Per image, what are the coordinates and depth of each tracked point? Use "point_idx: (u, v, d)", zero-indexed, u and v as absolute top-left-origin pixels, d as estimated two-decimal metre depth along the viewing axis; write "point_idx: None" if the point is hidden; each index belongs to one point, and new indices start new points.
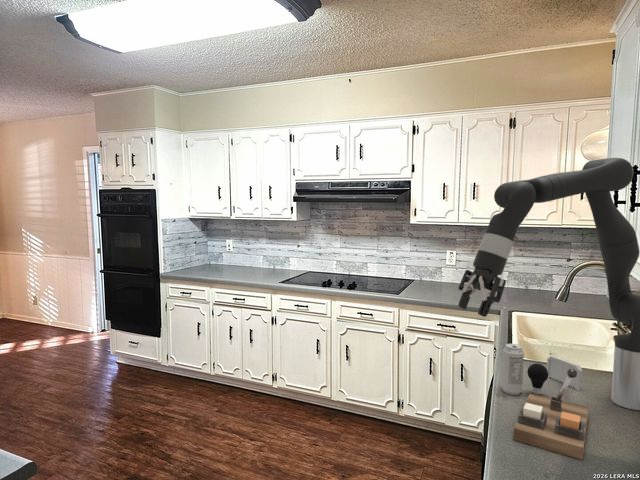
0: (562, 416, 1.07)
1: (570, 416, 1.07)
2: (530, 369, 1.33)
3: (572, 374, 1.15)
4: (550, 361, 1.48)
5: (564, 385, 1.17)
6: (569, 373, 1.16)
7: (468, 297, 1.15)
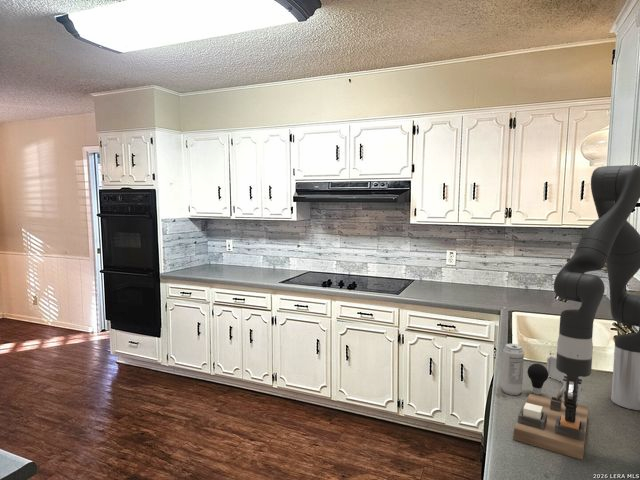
0: (562, 420, 1.07)
1: None
2: (530, 369, 1.33)
3: None
4: (550, 361, 1.48)
5: None
6: None
7: (573, 408, 1.06)
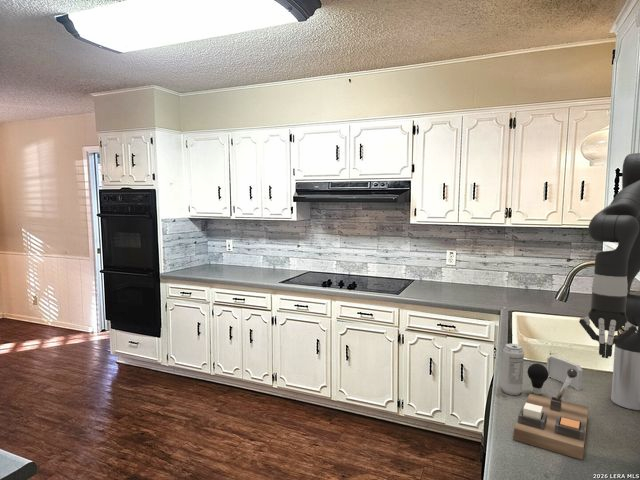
0: (562, 422, 1.07)
1: (570, 422, 1.07)
2: (530, 369, 1.33)
3: (572, 374, 1.15)
4: (550, 361, 1.48)
5: (564, 385, 1.17)
6: (569, 373, 1.16)
7: None
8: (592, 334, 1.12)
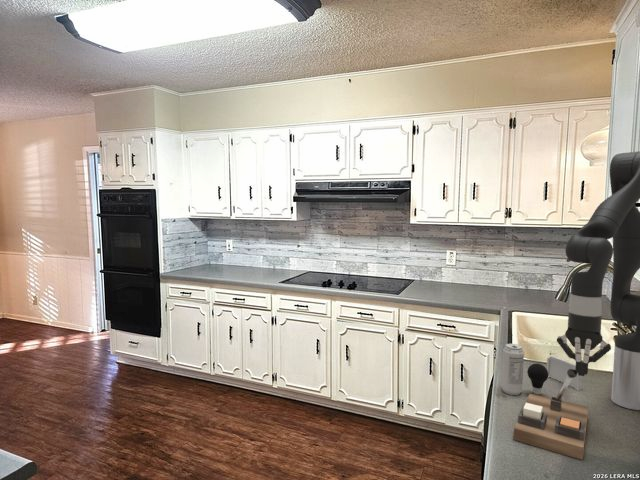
0: (562, 422, 1.07)
1: (570, 422, 1.07)
2: (530, 369, 1.33)
3: (572, 374, 1.15)
4: (550, 361, 1.48)
5: (564, 385, 1.17)
6: (569, 373, 1.16)
7: None
8: (569, 352, 1.15)
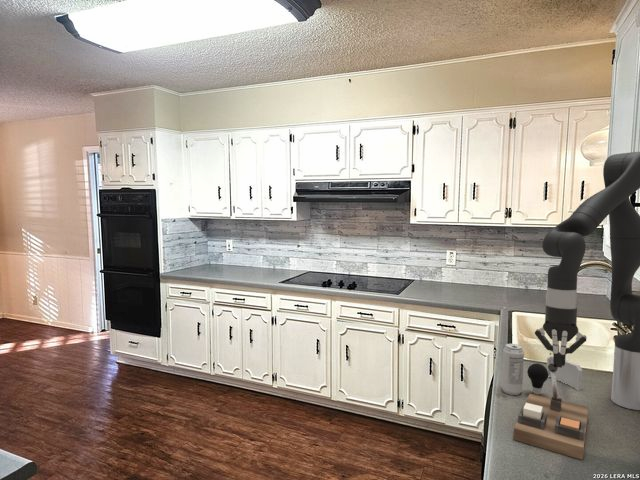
0: (562, 422, 1.07)
1: (570, 422, 1.07)
2: (530, 369, 1.33)
3: (552, 368, 1.18)
4: (550, 361, 1.48)
5: (552, 382, 1.19)
6: (550, 368, 1.18)
7: None
8: (546, 344, 1.18)
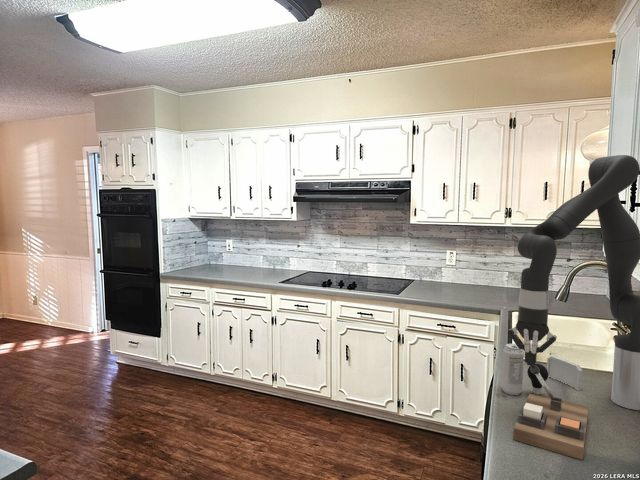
0: (562, 422, 1.07)
1: (570, 422, 1.07)
2: None
3: (534, 370, 1.20)
4: (550, 361, 1.48)
5: (542, 383, 1.20)
6: (532, 372, 1.21)
7: None
8: (518, 343, 1.22)
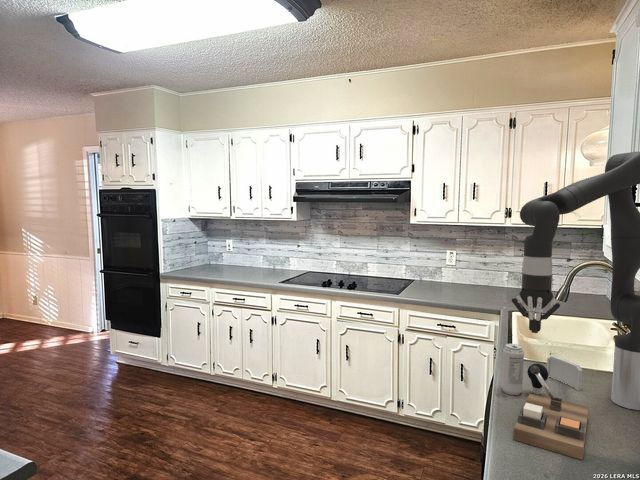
0: (562, 422, 1.07)
1: (570, 422, 1.07)
2: None
3: (534, 370, 1.20)
4: (550, 361, 1.48)
5: (542, 383, 1.20)
6: (532, 372, 1.21)
7: None
8: (523, 311, 1.22)
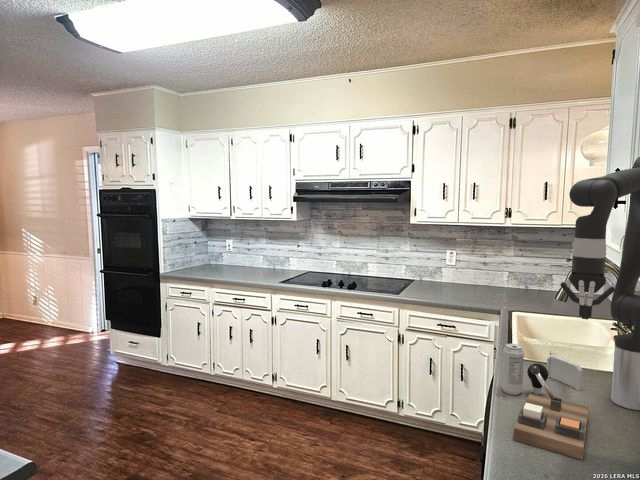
0: (562, 422, 1.07)
1: (570, 422, 1.07)
2: None
3: (534, 370, 1.20)
4: (550, 361, 1.48)
5: (542, 383, 1.20)
6: (532, 372, 1.21)
7: None
8: (572, 296, 1.16)
